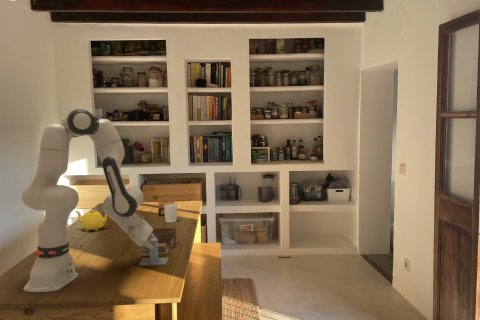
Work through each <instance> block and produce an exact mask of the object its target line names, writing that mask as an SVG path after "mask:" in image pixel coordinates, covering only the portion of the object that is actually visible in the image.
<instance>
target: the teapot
mask: <svg viewBox="0 0 480 320" xmlns="http://www.w3.org/2000/svg"><path fill="white" fill-rule="evenodd" d="M75 213H77V219H78V222H79V224H80V225H81V228H83V230H84V232H90V231H91V230H94V232H99V231H100V230H99V228H100V229H102V228H103V227H104V225H105V224H106V223H107V221H108V215H107V214H106V213H105V212H104V217H103V215H102V213H100V211H97V210H96V211H95V209H91V210H89V211H88V212H86V213H84V215H83V217H82V214H81V212H80V211H79V210H75Z"/></svg>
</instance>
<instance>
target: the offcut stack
mask: <svg viewBox="0 0 480 320" xmlns="http://www.w3.org/2000/svg"><path fill="white" fill-rule="evenodd" d="M168 251H169V250H168V248H167V244H166V243H158V257H159V256H163V257H164V256H167V254H168ZM140 257H150V250H149V248H148V247H146V246H144V245H142V246H141V249H140Z"/></svg>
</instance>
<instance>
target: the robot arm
mask: <svg viewBox="0 0 480 320" xmlns="http://www.w3.org/2000/svg"><path fill="white" fill-rule="evenodd" d="M85 136H87V137H89V138H90V139H91V141H93V144H94V147H95V149H96V152H97V154H98V157H99V159H100V163H101V166H102V170H103V174H104V177H105V180H106V182H107V186H108V189H109V192H110V194H109V195H108V196H106V198H105V199H104V200H103V203H102V205H101V208H102V211H103V212H104V214H105V213H106V214H107V217H108V218H110V219H111V220H112V221H113V222H115V223H117V224H118V226H119V228H121V229H122V230H123V232H125V233H126V234H127V235H128V236H129V238H130V240H131V241H132V242H133V243H134V244H135V245H136V246H138V247H140V248H142V247H143V245H144V246H146V247H148V248H149V249H150V250H152V249H153V248H154V245H152V244H150V243H149V240H148V239H150V238H155V236H154V234H153V233H152V231H153V228H154V227H152V226H151V224H150V223H149V222H148V221H147V220H145V219H144V216H142V215H141V214H137V213H135V212H136V211H137V210H138V208H139V207H140V206H141V205H142V204H143V202H144V200H145V194H144V192H143V191H142V189H140V188H139V187H137V186H130V187H127V188H126V185H125V182H124V179H123V176H122V172H121V171H122V170H121V168H122V167H121V166H122V163H123V160H124V158H125V153H126V152H125V147H124V144H123V141H122V139H121V137H120V135H119V132H118V131H117V129H116V127H115V125H114V124H113V123H112V121H111V120H110V119H108V118H99V119H98V118H97V117H96V116H95V115H94V114H92V113H91V112H90V111H88V110H87V109H84V108H76V109H74V110H71V111H70V112H68V113H67V114H66V115H65V117H64V118H63V119H62V120H61V122H60V123H54V122H53V123H50V124H47V125H46V126H45V127H44V129H43V132H42V135H41V140H40V145H39V152H38V153H39V154H38V155H39V156H38V162H37V168H36V171H35V175H34V177H33V178H32V180H31V182H30V183H29V184H28V185H27V186H26V187H25V188H24V189H23V191H22V193H21V194H22V195H21V201H22V203H23V204H24V205H25V206H26V207H28V208H30V209H33V210H35V211H42V212H43V211H44V213H45V214H44V215H45V216H44V219H43V221H42V222H41V223H40V224H39V225H38V227H37V228H36V230H37V240H38V241H37V242H38V243H37V244H38V245H37V248H36V250H34V254H33V255H34V256H35V257H36V259H35V261H34V263H33V265H32V267H31V270H30V273H29V280H28V281H27V282H26V284H25V286H24V287H23V291H24V292H27V293H49V292H55V291H59V290H62V288H64V287H65V286H66V285H68V284H69V283H71V282H73V281H74V280H75V279H77V278H78V277H79V273H78V272H76V269H75V262H74V257H73V256H72V254H70V252H69V251H70V243H69V241H68V222H69V218H70V215H71V213H72V212H73V211H74V210H75V209H76V208H77V206H78V205H79V199H80V198H79V197H80V196H79V193H78V191H77V190H76V189H74V188H73V187H71V186H67V185H63V184H58V182H59V180H60V178H61V177H62V176H63V174H65V173H66V172H67V171H68V166H69V155H70V144H71V140H72V139H73V138H78V137H85Z"/></svg>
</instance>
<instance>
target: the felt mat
mask: <svg viewBox="0 0 480 320" xmlns="http://www.w3.org/2000/svg"><path fill="white" fill-rule="evenodd" d="M169 260H170V259H169V257H158V261H157V262H151V263H150V257H142V258H141V260H140V262H139V263H138V266H167V264H168V262H169Z"/></svg>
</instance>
